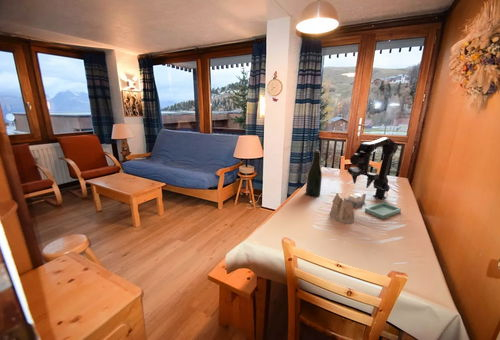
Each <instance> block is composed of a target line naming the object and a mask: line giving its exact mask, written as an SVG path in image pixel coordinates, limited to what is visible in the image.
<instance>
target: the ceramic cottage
mask: <svg viewBox="0 0 500 340" xmlns="http://www.w3.org/2000/svg"><path fill="white" fill-rule="evenodd" d="M346 198H347V197H345V198H341V197H340V194H339V193H338V192H337V193H336V194H335V195H334V198H333V199H332V201H331V203H332V206H331V209H330V211H329V217H330V218H331V219H333V220H335V221H336V222H337V223H339V224H341V225H347V226H348V225H353V224H354V223H355V211H354V207H353V205H352V203H351V201H350V202H346Z"/></svg>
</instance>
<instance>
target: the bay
mask: <svg viewBox="0 0 500 340" xmlns="http://www.w3.org/2000/svg"><path fill="white" fill-rule="evenodd" d="M345 198H346V202H350V200H349V196H348V197H345ZM351 203H352V205H353V207H352V208H353V209H356V208H357V209H358V208H360V207H363V204H364V202H363V201H360V202H357V203H355V202H353V201H351Z"/></svg>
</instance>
